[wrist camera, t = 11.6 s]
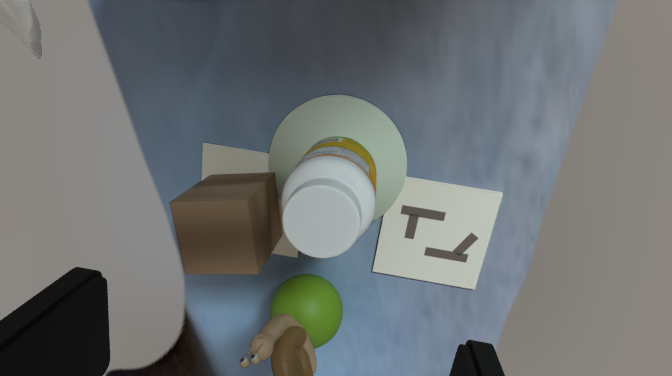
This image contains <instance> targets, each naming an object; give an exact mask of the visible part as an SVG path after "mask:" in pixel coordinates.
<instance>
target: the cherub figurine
mask: <svg viewBox="0 0 672 376" xmlns="http://www.w3.org/2000/svg"><path fill="white" fill-rule="evenodd" d="M0 22H1V23H3V24H4V25H5V26H6V27H7V28H9V29H10V30H11V31H12V32H14V33H15V34H16V35H18V36H19V37H20V38H21V39H22V40H23V41H24V42H25V44H26V45H27V46H28V47H29V48H30V49H31V51H32V52H33V54H34V55H35V56H37V58H38V59H40V58H41V55H42V46H41V30H40V24H39V21H38V18H37V16H36V13H35V11H34V9H33V8H32V4H31V2H30V0H0Z"/></svg>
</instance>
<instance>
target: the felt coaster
mask: <svg viewBox="0 0 672 376" xmlns="http://www.w3.org/2000/svg"><path fill="white" fill-rule="evenodd" d="M331 136H345V137H349V138H352V139H354V140H356V141H358V142H359V143H361V144H362V145H363V146H364V147H365V148H366V149H367V150H368V151H369V152H370V154H371V155H372V157H373V160H374V162H375V166H376V206H375V213H374V216H373V219H372V221H371V222H373V221H375V220H376V219H378V218H379V217H381V216H382V215H383V214H385V213H386V212H387V211H388V210H389V209H390V208H391V206H392V205H393V204H394V203H395V201H396V200H397V198H398V196H399V195H400V193H401V191H402V188H403V186H404V182H405V179H406V173H407V156H406V150H405V146H404V142H403V140H402V137H401V135H400V133H399V131H398V129H397V128H396V126H395V124H394V123H393V122H392V121H391V119H390V118H389V117H388V116H387V115H386V114H385V113H384V112H383V111H381V110H380V109H379V108H377V107H376V106H374V105H373V104H371V103H369V102H367V101H365V100H362V99H359V98H356V97H352V96H347V95H327V96H321V97H318V98H314V99H311V100H309V101H307V102H305V103H303V104H301V105H300V106H298V107H297V108H295V109H294V110H293V111H292V112H291V113H289V114H288V115H287V116H286V118H285V119H284V120H283V121H282V122H281V124H280V125H279V127H278V128H277V130H276V132H275V134H274V137H273V139H272V142H271V146H270V151H269V172H275V178H276V186H277V194H278V196H279V197H280V199H281V200H282V192H283V188H284V185H285V183H286V181H287V179H288V177H289V176H290V174H291V173H292V171H293V170H294V168H295V167H296V166H297V164H298V163H299V162H300V160H301V159H302V158H303V156H304V155H305V153H306V152H307V151H308V150H309V149H310V147H312V146H313V145H314V144H315V143H316V142H318V141H320V140H322V139H324V138H327V137H331Z"/></svg>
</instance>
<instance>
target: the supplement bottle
mask: <svg viewBox="0 0 672 376" xmlns="http://www.w3.org/2000/svg"><path fill="white" fill-rule="evenodd" d="M375 206H376V166H375V162H374V160H373V157H372V155H371V154H370V152H369V151H368V150H367V149H366V148H365V147H364V146H363V145H362V144H361V143H359V142H358V141H356V140H354V139H352V138H349V137H345V136H331V137H327V138H324V139H322V140H320V141H318V142H316V143H315V144H314V145H313V146H312V147H310V149H309V150H308V151H307V152H306V153H305V155H304V156H303V158H302V159H301V160H300V162H299V163H298V164H297V166H296V167H295V168H294V170H293V171H292V173H291V174H290V176H289V177H288V179H287V181H286V183H285V185H284V188H283V192H282V210H283V215H282V224H283V229H284V232H285V235H286V237H287V238H288V240H289V241H290V243H291V244H292V245H293V246H294V247H295V248H296V249H298V250H299V251H300V252H302V253H304V254H306V255H308V256H311V257H315V258H331V257H335V256H338V255H340V254H342V253H344V252H345V251H347V250H348V249H349V248H350V247H351V246H352V245H353V244H354V242H355V241H356V239H357V238H359V237H360V236H361V235H362V234H363V233H364V232H365V231H366V230H367V228H368V227H369V225H370V223H371V221H372V219H373V216H374V213H375Z"/></svg>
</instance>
